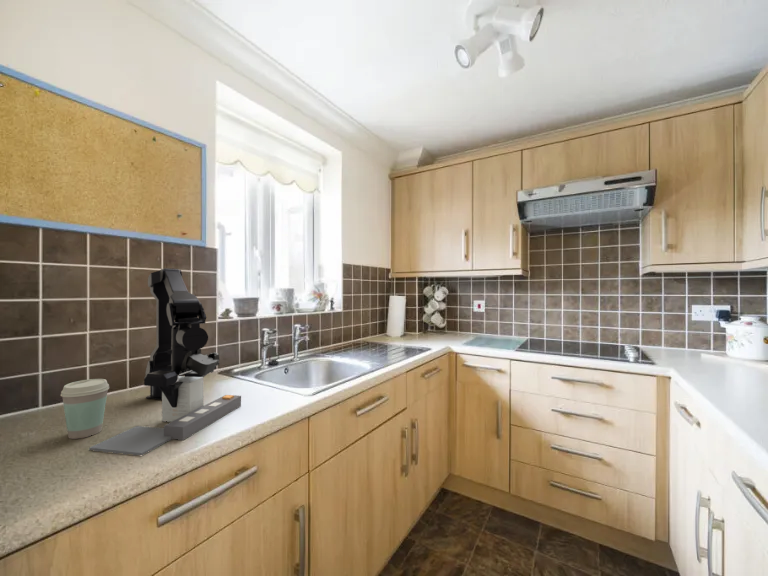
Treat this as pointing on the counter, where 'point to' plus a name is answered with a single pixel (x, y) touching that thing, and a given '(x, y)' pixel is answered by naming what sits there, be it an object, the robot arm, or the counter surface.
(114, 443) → the rubber mat
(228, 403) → the power strip
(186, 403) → the small box
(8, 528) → the counter surface
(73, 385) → the coffee cup
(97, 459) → the counter surface
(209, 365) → the robot arm
